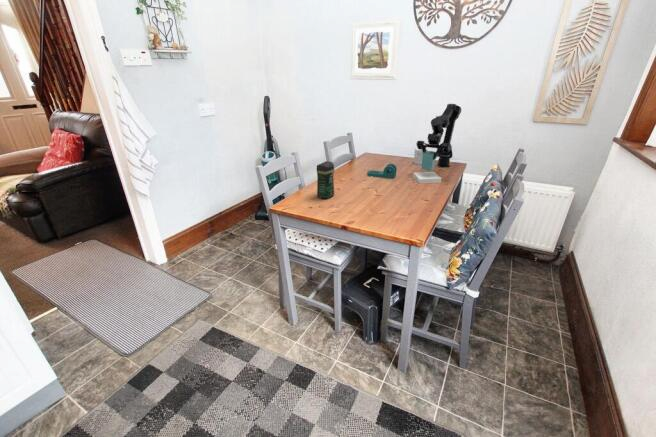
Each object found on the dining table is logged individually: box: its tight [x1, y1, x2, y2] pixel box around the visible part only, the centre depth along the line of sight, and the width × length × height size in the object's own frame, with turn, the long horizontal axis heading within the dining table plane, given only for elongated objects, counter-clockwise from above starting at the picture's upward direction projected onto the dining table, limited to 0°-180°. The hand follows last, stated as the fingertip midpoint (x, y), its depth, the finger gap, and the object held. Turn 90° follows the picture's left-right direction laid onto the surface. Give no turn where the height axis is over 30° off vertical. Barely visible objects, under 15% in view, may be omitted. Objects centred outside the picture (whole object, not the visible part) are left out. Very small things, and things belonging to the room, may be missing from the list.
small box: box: [413, 147, 429, 165], centre depth 214 cm, size 8×6×10 cm
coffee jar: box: [316, 160, 335, 199], centre depth 159 cm, size 10×8×19 cm
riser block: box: [412, 171, 443, 184], centre depth 184 cm, size 13×13×3 cm
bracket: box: [366, 163, 397, 180], centre depth 191 cm, size 18×7×8 cm, turn 67°
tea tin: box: [420, 150, 437, 172], centre depth 179 cm, size 6×6×10 cm
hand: (428, 158), depth 178 cm, fingers closed on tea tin, 6 cm apart
